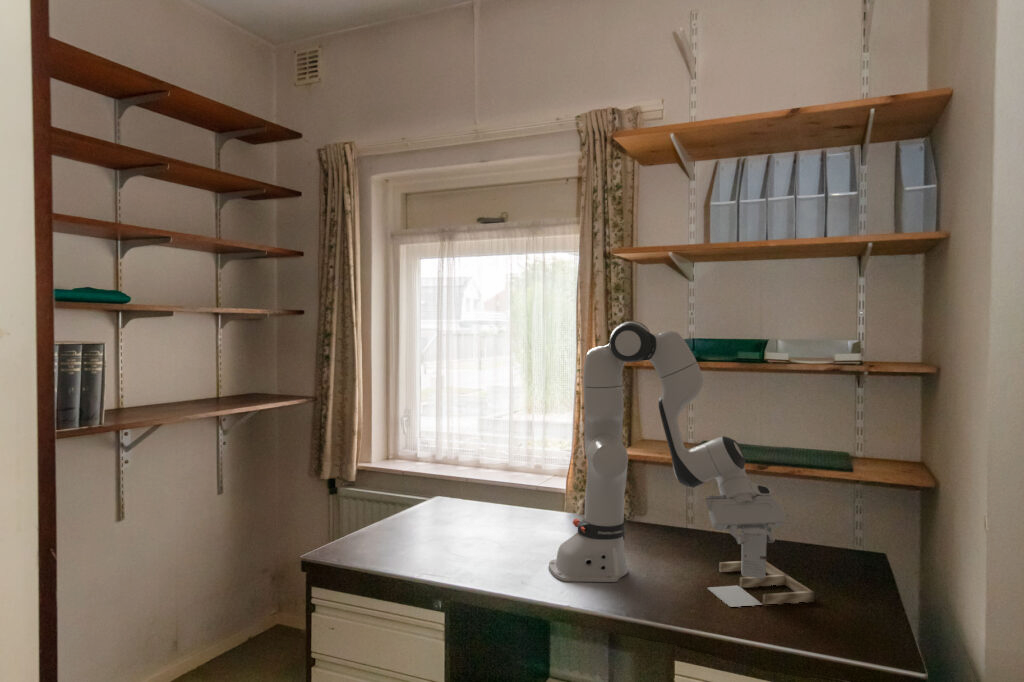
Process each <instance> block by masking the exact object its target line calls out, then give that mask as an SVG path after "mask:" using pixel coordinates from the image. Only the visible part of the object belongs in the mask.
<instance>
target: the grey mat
mask: <svg viewBox="0 0 1024 682" xmlns="http://www.w3.org/2000/svg"><path fill="white" fill-rule="evenodd" d="M706 590H708V591H710V592H711V593H712V594H713V595H714V596H716V597H717V598H718V599H719V600H720V601H721V600H722V601H721V602H723V603H724V604H725V605H726V604H727V605H728V607H729V606H730V607H738V608H742V607H741V606H752V607H756V606H755V605H763V602H760V601H759V600H758V599H757V598H755V597H754V596H753V595H751V594H750V593H748V592H747V591H746V590H745V589H744V588H741V587H740V585H724V586H710V587H707V588H706ZM727 605H726V606H727ZM763 606H764V605H763ZM730 607H729V608H730Z"/></svg>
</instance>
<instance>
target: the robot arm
mask: <svg viewBox="0 0 1024 682" xmlns="http://www.w3.org/2000/svg"><path fill="white" fill-rule="evenodd" d="M608 342H609V343H608V344H606V345H600V346H596V347H593V348H590V349H589V350H588V351H587V353H586V355H585V359H584V365H583V379H582V380H583V383H582V385H583V407H584V408H583V409H584V427H583V428H584V431H583V432H584V439H583V440H584V453H585V457H586V461H587V465H586V466H587V467H586V469H587V470H586V480H585V481H586V483H585V491H584V494H585V495H584V518H583V519H582V520H580V519H578V518H573V520H572V524H573V526H574V527H575V528H577V532H576V533H574V535H571V536H570V537H569V538H568V539H567V540H565V541H564V542H563V543H561V544H560V545H559V547H558V550H557V553H556V558H554V559H551V560H550V561H549V563H548V570H549V572H550V573H551V574H552V576H553V577H555V578H556V579H558V580H559V581H562V582H582V583H584V582H587V583H588V582H589V583H593V582H595V583H616V582H618V581H619V580H620V578H622V577H624V576H626V575H627V574H628V573H629V568H628V564H627V561H626V554H625V552H626V551H625V538H626V523H625V522H626V521H625V520H624V518H625V517H624V515H625V514H624V513H625V511H624V510H625V492H626V485H627V484H626V483H627V476H628V475H627V474H628V466H629V465H628V464H629V453H628V450H627V449H626V447H625V445H624V442H623V429H624V428H623V427H624V426H623V425H624V413H625V411H624V409H625V408H624V406H625V405H624V385H623V383H624V382H623V370H624V366H625V364H626V363H635V362H636V363H637V362H644V361H649V362H650V363H651V364H652V366H653V368H654V369H655V371H656V374H657V376H658V378H659V380H660V383H661V391H662V393H661V396H660V397H659V399H658V409H659V410H658V411H659V414H660V415H659V416H660V418H661V419H660V420H661V422H662V427H663V431H664V433H665V434H664V435H665V437H666V441H667V445H668V449H669V452H670V455H671V457H670V458H671V460H672V468H673V469H672V470H673V474H674V475H675V477H676V480H677V481H678V482H679V484H681V485H683V486H685V487H688V488H692V489H693V488H696V487H698V486H700V485H702V484H704V483H706V482H708V481H711V480H713V479H715V481H716V482H717V485H718V491H719V494H718V495H709V496H708V497H706V499H705V501H704V503H705V505H706V509H708V516H709V520H710V524H711V527H712V528H714V529H715V530H717V531H719V530H720V531H723V530H727V531H728V532H729V534H730V535H731V536H732V537H733V538H734V539H735V540H736V543H737V545H742V544H744V543H745V542H746V540H745V537H744V535H742V534H741V533H740V532H739V531H738V530H742V526H746V527H757V528H765V529H766V532H767V543H766V544H773V543H774V542H775V541H776V539H775V536H774V531H775V528H780V527H782V525H783V524H785V521H786V515H785V513H784V511H783V508H782V506H781V504H780V503H779V501H778V500H777V499H776V498H775V497H774V496H773V494H774V492H773V490H772V488H771V487H769V486H765V485H761V484H758V483H756V482H751V479H750V477H749V476H748V475H747V473H746V466H745V465H746V459H745V457H744V455H743V452H742V449H741V447H740V444H739V443H738V442H737V441H736V440H735V439H732V438H730V437H728V436H724V435H723V436H718V437H715V438H713V439H711V440H708V441H706V442H704V443H701V444H699V445H697V446H693V447H691V448H686V447H685V443H684V441H683V436H682V432H681V430H680V426H679V417H680V414H681V413H682V411H683V410H684V409H685V408H686V407H687V406H689V404H690V403H691V402H693V400H695V398H696V397H697V396H698V395H699V393H700V392H701V390H702V387H703V386H704V377H703V376H704V375H703V374H702V371H701V368H700V365H699V363H698V361H697V359H696V357H695V355H694V354H693V352H692V350H691V348H690V347H689V345H688V344H687V342H686V340H685V339H684V338H683V337H682V335H680V333H679V332H677V331H673V330H666V331H662V332H659V333H651V332H650V329H649V328H648V327H647V326H646V325H645V324H643V323H641V322H640V321H635V320H628V321H627V320H626V321H624V322H622V323H620V324H619V325H617V326H616V327H615V328H614V329H612V332H611V334H610V337H609V340H608Z"/></svg>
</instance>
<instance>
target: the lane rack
mask: <svg viewBox="0 0 1024 682" xmlns="http://www.w3.org/2000/svg"><path fill="white" fill-rule="evenodd" d="M718 563H719V564H718V565H719V567H718V571H719V572H720V573H731V572H741V560H737V561H720V562H718ZM766 574H768V575H766V578H764V579H763V578H754V577H745V576H740V577H739V587H741V588H742V589H745V588H759V586H762V587H773V585H776V586H786V587H788V588H789V589H790V590H791V591H790V592H789V591H788V592H774V593H763V594H762V604H778V605H784V604H783V603H791V604H800V603H799V602H805V603H814V602H815V591H813V590H811V589H810V588H808V587H807V586H805V585H803V584H802V583H800V581H797V580H796V579H794V578H793V577H791V576H790V575H788V574H787V573H785V572H783V571H782V570H780V569H778V568H777V567H776V566H774V565H773V564H771V563H769V562H768V561H766ZM771 585H772V586H771Z"/></svg>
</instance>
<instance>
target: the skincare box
mask: <svg viewBox="0 0 1024 682" xmlns="http://www.w3.org/2000/svg"><path fill="white" fill-rule="evenodd" d="M767 534H768V532H767V531H766V529H765V528H757V527H746V526H742V529H741V535H744V537H745V540H746V542H745V543H744V544H741V552H740V553H741V554H740V555H741V560H740V561H741V571H740V572H741V577H754V578H763V579H764V578H766V576H767V575H766V574H767V573H766V562H767V544H768V543H767Z"/></svg>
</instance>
